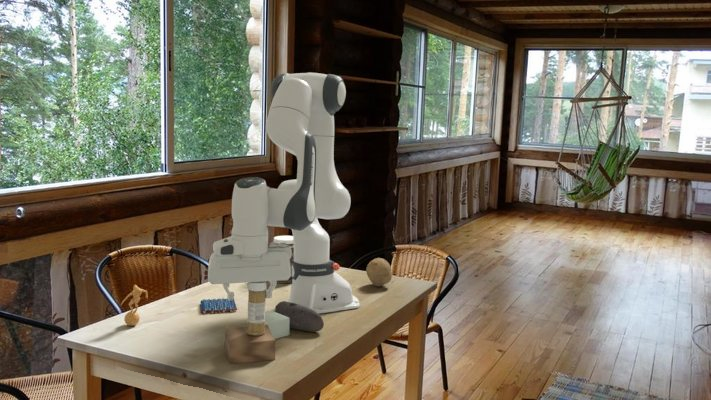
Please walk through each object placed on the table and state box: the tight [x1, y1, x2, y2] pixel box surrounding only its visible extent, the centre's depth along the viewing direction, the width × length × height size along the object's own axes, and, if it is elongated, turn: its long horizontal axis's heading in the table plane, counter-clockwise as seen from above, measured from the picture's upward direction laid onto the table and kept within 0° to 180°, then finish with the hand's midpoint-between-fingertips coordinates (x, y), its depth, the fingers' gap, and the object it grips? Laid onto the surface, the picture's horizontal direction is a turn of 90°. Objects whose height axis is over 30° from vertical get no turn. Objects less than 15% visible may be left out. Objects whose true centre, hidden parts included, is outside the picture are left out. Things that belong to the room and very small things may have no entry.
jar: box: [271, 235, 294, 284], centre depth 225 cm, size 12×12×15 cm
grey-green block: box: [265, 310, 290, 340], centre depth 172 cm, size 8×8×5 cm
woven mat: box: [200, 297, 238, 315], centre depth 193 cm, size 10×11×2 cm
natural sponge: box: [365, 257, 393, 288], centre depth 220 cm, size 9×9×10 cm
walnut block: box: [224, 325, 276, 365], centre depth 159 cm, size 11×11×5 cm
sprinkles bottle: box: [247, 281, 268, 336], centre depth 158 cm, size 5×5×14 cm
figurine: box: [120, 284, 149, 327], centre depth 174 cm, size 8×6×12 cm
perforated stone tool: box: [274, 300, 325, 333], centre depth 177 cm, size 15×5×7 cm, turn 61°
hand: (249, 298), depth 157 cm, fingers open, 8 cm apart
